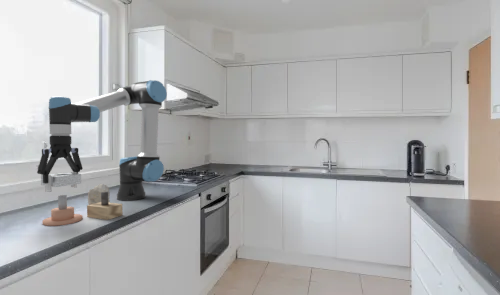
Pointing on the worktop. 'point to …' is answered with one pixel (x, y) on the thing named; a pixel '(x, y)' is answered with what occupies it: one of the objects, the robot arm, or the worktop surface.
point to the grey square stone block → (63, 179)
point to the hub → (62, 214)
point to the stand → (104, 209)
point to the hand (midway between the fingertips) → (61, 189)
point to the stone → (97, 194)
